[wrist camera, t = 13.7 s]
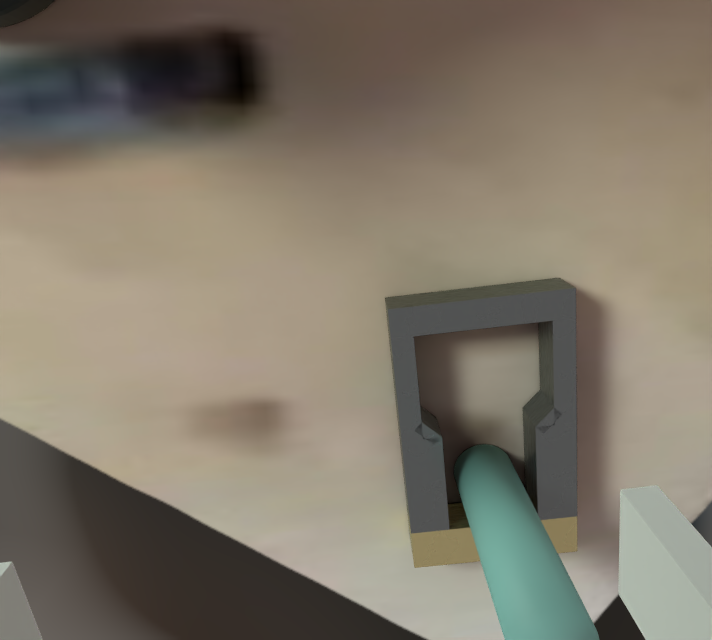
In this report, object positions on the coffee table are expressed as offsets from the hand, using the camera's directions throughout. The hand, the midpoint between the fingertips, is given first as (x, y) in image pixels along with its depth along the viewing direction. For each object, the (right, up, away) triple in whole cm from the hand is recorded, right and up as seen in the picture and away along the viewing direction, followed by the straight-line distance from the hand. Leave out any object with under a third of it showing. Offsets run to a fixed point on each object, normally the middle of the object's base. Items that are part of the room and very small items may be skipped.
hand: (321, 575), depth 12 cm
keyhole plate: (+10, -2, +30) cm, 31 cm away
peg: (+10, -6, +31) cm, 33 cm away
